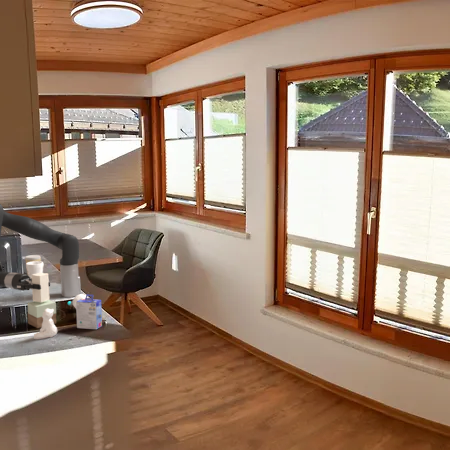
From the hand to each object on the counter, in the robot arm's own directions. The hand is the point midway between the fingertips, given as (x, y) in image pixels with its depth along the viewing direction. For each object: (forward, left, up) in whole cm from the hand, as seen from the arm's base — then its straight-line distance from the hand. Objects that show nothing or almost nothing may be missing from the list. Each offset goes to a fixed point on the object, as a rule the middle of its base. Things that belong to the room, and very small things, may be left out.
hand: (44, 285), depth 226 cm
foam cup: (-28, -68, -18) cm, 76 cm away
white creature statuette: (+7, +14, -18) cm, 24 cm away
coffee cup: (-38, -91, -18) cm, 101 cm away
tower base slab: (+1, -3, -18) cm, 18 cm away
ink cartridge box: (-11, +18, -18) cm, 28 cm away
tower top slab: (+1, -2, -13) cm, 13 cm away
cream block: (+1, -2, -7) cm, 7 cm away
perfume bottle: (-21, -9, -18) cm, 29 cm away
